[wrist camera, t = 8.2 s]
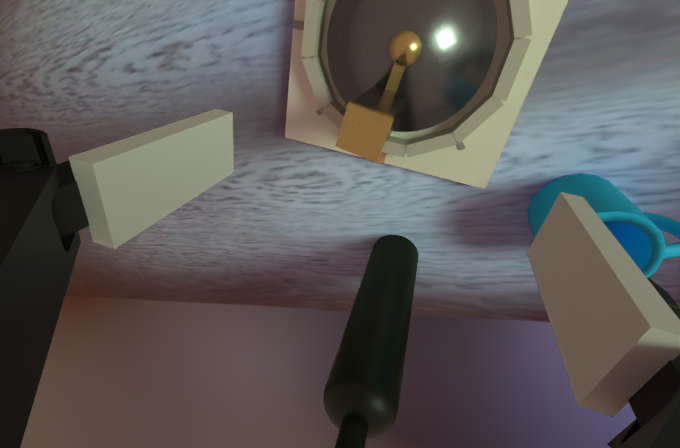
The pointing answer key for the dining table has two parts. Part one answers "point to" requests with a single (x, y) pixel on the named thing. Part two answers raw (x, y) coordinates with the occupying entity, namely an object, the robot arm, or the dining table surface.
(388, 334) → the wine bottle
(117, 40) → the dining table surface
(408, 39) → the dial
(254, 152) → the dining table surface
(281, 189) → the dining table surface
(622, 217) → the mug
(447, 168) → the dial board
